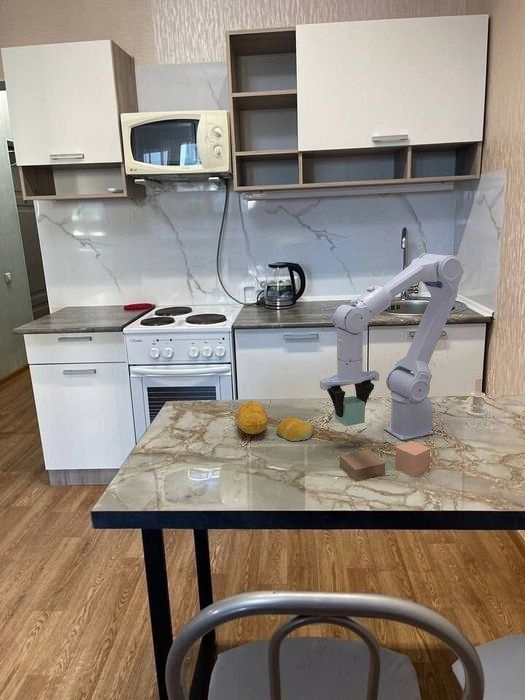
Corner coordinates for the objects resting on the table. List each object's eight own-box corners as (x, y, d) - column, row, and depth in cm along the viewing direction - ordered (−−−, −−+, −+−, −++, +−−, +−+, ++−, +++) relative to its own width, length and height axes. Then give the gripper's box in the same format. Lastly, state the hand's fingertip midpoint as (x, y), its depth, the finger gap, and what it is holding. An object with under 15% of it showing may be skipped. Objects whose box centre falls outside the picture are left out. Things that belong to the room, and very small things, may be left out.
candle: (463, 409, 143) (466, 373, 140) (483, 409, 142) (486, 373, 139) (468, 416, 138) (471, 379, 135) (489, 417, 137) (492, 379, 134)
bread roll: (297, 445, 125) (296, 430, 124) (272, 434, 132) (271, 420, 131) (320, 435, 130) (320, 420, 129) (295, 425, 137) (295, 411, 136)
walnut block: (367, 461, 116) (367, 449, 116) (384, 476, 110) (385, 463, 109) (339, 467, 114) (339, 455, 113) (355, 482, 108) (355, 469, 107)
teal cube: (353, 415, 126) (353, 395, 125) (364, 422, 121) (365, 402, 120) (335, 418, 124) (335, 398, 123) (345, 426, 120) (346, 405, 118)
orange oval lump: (264, 419, 141) (263, 395, 140) (270, 440, 128) (269, 414, 126) (235, 421, 141) (234, 397, 139) (239, 443, 127) (238, 417, 126)
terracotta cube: (410, 461, 115) (411, 440, 114) (429, 469, 111) (430, 448, 110) (395, 468, 112) (395, 447, 111) (414, 477, 109) (415, 455, 107)
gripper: (367, 349, 125) (367, 402, 128) (313, 358, 120) (314, 413, 123) (384, 356, 118) (383, 412, 122) (327, 366, 113) (328, 424, 117)
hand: (349, 413), depth 122 cm, fingers closed on teal cube, 5 cm apart
